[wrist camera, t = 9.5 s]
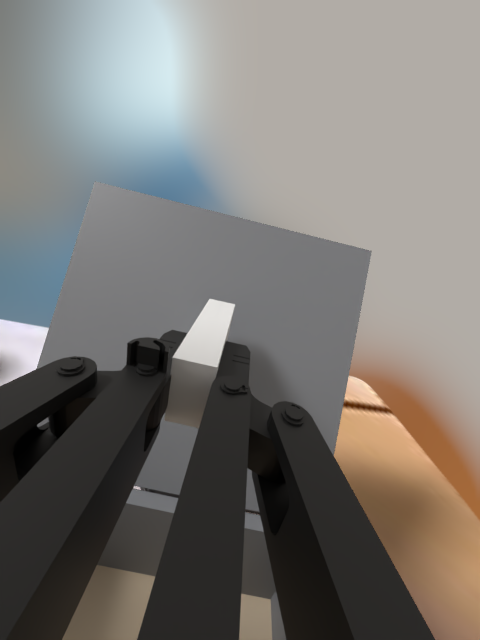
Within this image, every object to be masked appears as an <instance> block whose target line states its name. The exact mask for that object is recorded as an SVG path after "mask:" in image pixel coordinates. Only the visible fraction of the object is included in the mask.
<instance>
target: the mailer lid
mask: <svg viewBox="0 0 480 640" xmlns="http://www.w3.org/2000/svg"><path fill="white" fill-rule="evenodd" d="M370 256H371V251H369V250H365V249H361V248H357V247H353V246H349V245H346V244H342V243H338V242H333V241H329V240H326V239H321V238H318V237H313V236H310V235H306V234H301V233H298V232H294V231H290V230H286V229H282V228H278V227H274V226H270V225H266V224H262V223H258V222H254V221H250V220H246V219H242V218H238V217H234V216H230V215H226V214H222V213H218V212H214V211H210V210H206V209H202V208H199V207H195V206H191V205H187V204H183V203H179V202H175V201H170V200H167V199H162V198H159V197H155V196H151V195H147V194H143V193H139V192H135V191H131V190H127V189H123V188H119V187H115V186H111V185H107V184H103V183H99V182H95V183H94V186H93V189H92V192H91V196H90V199H89V202H88V205H87V208H86V212H85V215H84V218H83V221H82V224H81V228H80V231H79V234H78V237H77V240H76V244H75V247H74V250H73V253H72V256H71V260H70V263H69V266H68V270H67V273H66V276H65V279H64V282H63V285H62V289H61V292H60V296H59V298H58V302H57V305H56V308H55V311H54V314H53V318H52V321H51V324H50V327H49V330H48V334H47V337H46V340H45V343H44V347H43V350H42V353H41V356H40V359H39V363H38V366H37V369H38V368H41V367H43V366H45V365H47V364H49V363H51V362H53V361H56V360H59V359H62V358H66V357H72V356H77V357H78V356H79V357H86V358H90V359H92V360H93V361H95V363H96V365H97V371H120V370H122V369H123V368H124V367H125V366H126V362H127V343H128V342H130V341H131V340H133V339H137V338H144V337H150V338H157V339H160V338H161V336H162V335H163V334H164V333H166V332H168V331H171V330H176V331H181V332H185V333H188V332H189V331H190V329H191V327H192V326H193V324H194V323H195V321H196V319H197V318H198V316H199V315H200V313H201V312H202V310H203V308H204V307H205V305H206V304H207V302H208V301H209V299H214V300H218V301H222V302H227V303H231V304H235V307H234V312H233V316H232V321H231V326H230V330H229V335H228V339H227V341H228V342H233V343H237V344H242V345H246V346H247V347H248V349H249V350H250V352H251V353H250V370H249V387H250V390H251V394H252V395H253V396H254V397H255V398H256V399H257V400H259V401H260V402H262V403H264V404H266V405H268V406H270V407H273V405H274V404H276V403H278V402H281V401H288V402H293V403H295V404H297V405H299V406H301V407H303V408H304V409H305V410H306V411H308V413H309V414H310V415H311V416H312V418H313V420H314V422H315V423H316V425H317V427H318V429H319V431H320V432H321V434H322V436H323V438H324V440H325V441H326V443H327V445H328V447H329V449H330V450H331V452H332V454H333V456H334V451H335V446H336V440H337V435H338V430H339V424H340V419H341V413H342V408H343V403H344V397H345V392H346V386H347V381H348V376H349V370H350V364H351V359H352V354H353V349H354V343H355V338H356V332H357V327H358V322H359V316H360V311H361V305H362V300H363V294H364V289H365V283H366V278H367V273H368V267H369V262H370ZM165 412H166V411H165ZM164 419H165V413H164V415H163V417H162V419H161V424H160V430H159V433H158V436H157V438H156V440H155V442H154V444H153V446H152V448H151V451H150V453H149V455H148V457H147V459H146V461H145V463H144V465H143V468H142V470H141V472H140V474H139V476H138V478H137V480H136V483H135V485H134V486H139V487H144V488H148V489H153V490H158V491H163V492H167V493H172V494H177V495H179V494H180V491H181V487H182V484H183V481H184V477H185V474H186V470H187V467H188V464H189V460H190V457H191V453H192V450H193V446H194V443H195V440H196V436H197V433H198V429H199V428H196V427H191V426H187V425H182V424H178V423H173V422H169V421H164ZM47 422H49V421H48V418H46V419H45V420H43V421H42V422H40V423H39V424H37V426H38V427H40V426H42V425H44V424H46V423H47ZM245 509H248V510H253V511H258V512H259V507H258V502H257V498H256V493H255V488H254V483H253V478H252V471H251V470H250V469H248V468H247V487H246V508H245Z"/></svg>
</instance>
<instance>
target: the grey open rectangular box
mask: <svg viewBox="0 0 480 640" xmlns="http://www.w3.org/2000/svg"><path fill="white" fill-rule="evenodd" d="M177 501H178V498H175V497H171V496H166V495H161V494H156V493H152V492H147V491H142V490H137V489H132V491H131V493H130V495H129V498H128V500H127V502H126V504H125V506H124V508H123V510H122V513H121V515H120V517H119V519H118V521H117V523H116V525H115V527H114V530H113V532H112V534H111V536H110V538H109V540H108V542H107V545H106V547H105V549H104V551H103V553H102V555H101V557H100V560H99V562H98V564H97V566H96V568H95V570H94V572H93V574H92V577H91V579H90V581H89V583H88V585H87V587H86V589H85V592H84V594H83V596H82V598H81V600H80V602H79V604H78V607H77V609H76V611H75V613H74V615H73V617H72V619H71V622H70V624H69V626H68V628H67V630H66V632H65V634H64V636H63V639H62V640H137V638H138V634H139V631H140V628H141V624H142V621H143V617H144V614H145V611H146V607H147V604H148V600H149V597H150V593H151V590H152V587H153V583H154V580H155V576H156V573H157V569H158V566H159V563H160V559H161V556H162V552H163V549H164V546H165V542H166V539H167V535H168V532H169V528H170V525H171V522H172V518H173V515H174V511H175V508H176V505H177ZM239 640H286V636H285V631H284V626H283V621H282V617H281V612H280V607H279V602H278V598H277V593H276V588H275V583H274V578H273V574H272V569H271V564H270V559H269V555H268V550H267V545H266V540H265V536H264V531H263V526H262V521H261V517H260V515H256V514H251V513H247V512H245V529H244V549H243V570H242V591H241V611H240V632H239Z"/></svg>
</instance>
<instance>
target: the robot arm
mask: <svg viewBox="0 0 480 640" xmlns="http://www.w3.org/2000/svg"><path fill="white" fill-rule="evenodd" d="M234 307H235V304H231V303H227V302H222V301H218V300H214V299H209V301H208V302H207V304H206V305H205V307H204V308H203V310H202V312H201V313H200V315H199V316H198V318H197V319H196V321H195V323H194V324H193V326H192V327H191V329H190V331H189V332H188V333H185V332H181V331H176V330H171V331H168V332H166V333H164V334H163V335H162V336H161V338H160V339H157V338H150V337H144V338H137V339H133V340H131V341H130V342H128V343H127V362H126V366H125V367H124V368H123V369H122V370H120V371H97V365H96V363H95V361H93V360H92V359H90V358H86V357H79V356H78V357H77V356H72V357H66V358H62V359H59V360H56V361H53V362H51V363H49V364H47V365H45V366H43V367H41V368H38V369H36V370H34V371H32V372H30V373H28V374H26V375H24V376H21V377H19V378H17V379H15V380H13V381H11V382H9V383H7V384H4V385H2V386H0V640H62V639H63V636H64V634H65V632H66V630H67V628H68V626H69V624H70V622H71V619H72V617H73V615H74V613H75V611H76V609H77V607H78V604H79V602H80V600H81V598H82V596H83V594H84V592H85V589H86V587H87V585H88V583H89V581H90V579H91V577H92V574H93V572H94V570H95V568H96V566H97V564H98V562H99V560H100V557H101V555H102V553H103V551H104V549H105V547H106V545H107V542H108V540H109V538H110V536H111V534H112V532H113V530H114V527H115V525H116V523H117V521H118V519H119V517H120V515H121V513H122V510H123V508H124V506H125V504H126V502H127V500H128V498H129V495H130V493H131V491H132V489H133V487H134V485H135V483H136V480H137V478H138V476H139V474H140V472H141V470H142V468H143V465H144V463H145V461H146V459H147V457H148V455H149V453H150V451H151V448H152V446H153V444H154V442H155V440H156V438H157V436H158V433H159V430H160V424H161V419H162V417H163V415H164V413H165V419H164V421H169V422H173V423H178V424H182V425H187V426H191V427H196V428H199V429H198V433H197V436H196V440H195V443H194V446H193V450H192V453H191V457H190V460H189V464H188V467H187V470H186V474H185V477H184V481H183V484H182V487H181V491H180V494H179V498H178V501H177V505H176V508H175V511H174V515H173V518H172V522H171V525H170V528H169V532H168V535H167V539H166V542H165V546H164V549H163V552H162V556H161V559H160V563H159V566H158V569H157V573H156V576H155V580H154V583H153V587H152V590H151V593H150V597H149V600H148V604H147V607H146V611H145V614H144V617H143V621H142V624H141V628H140V631H139V634H138V638H137V640H239V632H240V611H241V591H242V570H243V549H244V529H245V508H246V487H247V468H248V469H250V470H251V471H252V478H253V483H254V488H255V493H256V498H257V502H258V507H259V512H260V517H261V521H262V526H263V531H264V536H265V540H266V545H267V550H268V555H269V559H270V564H271V569H272V574H273V578H274V583H275V588H276V593H277V598H278V602H279V607H280V612H281V617H282V621H283V626H284V631H285V636H286V640H435V638H434V637H433V635H432V633H431V631H430V629H429V628H428V626H427V624H426V622H425V620H424V619H423V617H422V615H421V613H420V611H419V610H418V608H417V606H416V604H415V602H414V600H413V599H412V597H411V595H410V593H409V591H408V590H407V588H406V586H405V584H404V582H403V581H402V579H401V577H400V575H399V573H398V572H397V570H396V568H395V566H394V564H393V563H392V561H391V559H390V557H389V555H388V554H387V552H386V550H385V548H384V546H383V544H382V543H381V541H380V539H379V537H378V535H377V534H376V532H375V530H374V528H373V526H372V525H371V523H370V521H369V519H368V517H367V516H366V514H365V512H364V510H363V508H362V507H361V505H360V503H359V501H358V499H357V497H356V496H355V494H354V492H353V490H352V488H351V487H350V485H349V483H348V481H347V479H346V478H345V476H344V474H343V472H342V470H341V469H340V467H339V465H338V463H337V461H336V460H335V458H334V456H333V454H332V452H331V450H330V449H329V447H328V445H327V443H326V441H325V440H324V438H323V436H322V434H321V432H320V431H319V429H318V427H317V425H316V423H315V422H314V420H313V418H312V416H311V415H310V414H309V413H308V411H306V410H305V409H304V408H303V407H301V406H299V405H297V404H295V403H293V402H288V401H281V402H278V403H276V404H274V405H273V407H270V406H268V405H266V404H264V403H262V402H260V401H259V400H257V399H256V398H255V397H254V396H253V395H252V394H251V390H250V387H249V370H250V353H251V352H250V350H249V349H248V347H247V346H246V345H242V344H237V343H233V342H228V341H227V339H228V335H229V330H230V326H231V321H232V316H233V312H234ZM165 411H166V412H165ZM46 418H48V421H49V422H47V423H46V424H44V425H42V426H40V427H38V426H37V424H39V423H40V422H42V421H43V420H45V419H46Z"/></svg>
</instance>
